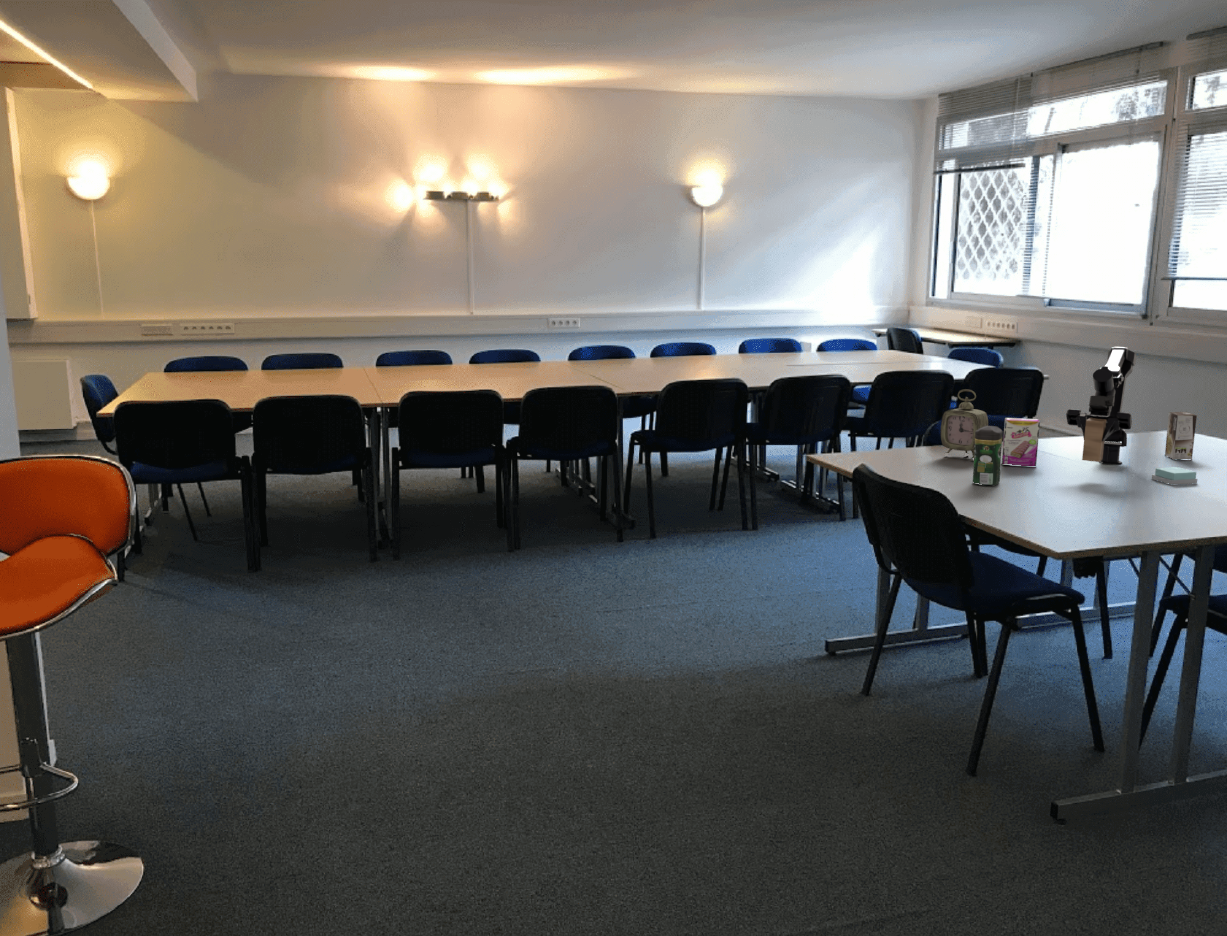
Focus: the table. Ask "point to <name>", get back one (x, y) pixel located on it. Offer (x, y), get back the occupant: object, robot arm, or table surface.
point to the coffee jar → (987, 455)
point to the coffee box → (1180, 435)
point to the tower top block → (1175, 473)
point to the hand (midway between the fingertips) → (1093, 439)
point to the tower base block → (1165, 480)
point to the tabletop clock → (962, 426)
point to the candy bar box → (1020, 441)
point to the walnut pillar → (1094, 440)
